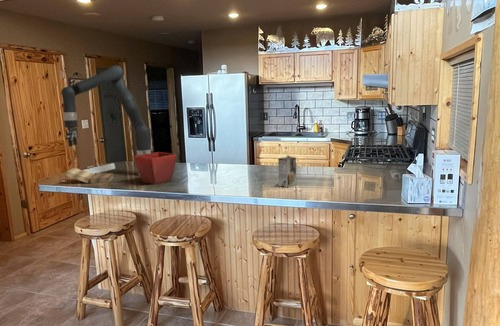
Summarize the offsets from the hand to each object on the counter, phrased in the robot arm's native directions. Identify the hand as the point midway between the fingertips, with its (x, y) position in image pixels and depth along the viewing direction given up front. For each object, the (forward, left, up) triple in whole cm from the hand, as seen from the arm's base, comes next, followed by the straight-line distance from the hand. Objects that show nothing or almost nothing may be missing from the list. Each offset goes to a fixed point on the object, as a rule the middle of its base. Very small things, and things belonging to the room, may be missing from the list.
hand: (73, 145), depth 229 cm
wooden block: (-16, 0, -23) cm, 28 cm away
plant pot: (-51, +12, -24) cm, 58 cm away
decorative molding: (-1, -32, -24) cm, 41 cm away
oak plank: (-2, 0, -21) cm, 21 cm away
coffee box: (-127, +44, -24) cm, 137 cm away
